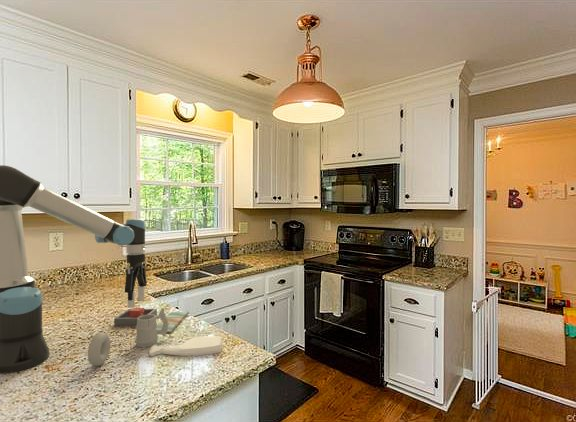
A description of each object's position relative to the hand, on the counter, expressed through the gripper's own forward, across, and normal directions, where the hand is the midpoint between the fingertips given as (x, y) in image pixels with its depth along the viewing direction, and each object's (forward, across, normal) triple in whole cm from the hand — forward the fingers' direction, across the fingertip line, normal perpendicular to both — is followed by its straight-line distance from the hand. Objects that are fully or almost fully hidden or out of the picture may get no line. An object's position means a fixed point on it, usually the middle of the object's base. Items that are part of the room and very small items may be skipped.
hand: (136, 303), depth 143 cm
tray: (+7, 0, 0) cm, 7 cm away
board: (+7, -3, -16) cm, 18 cm away
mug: (+8, -23, -16) cm, 29 cm away
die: (+7, 0, 0) cm, 7 cm away
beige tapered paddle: (+8, -30, -31) cm, 44 cm away
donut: (+8, -40, -6) cm, 41 cm away
